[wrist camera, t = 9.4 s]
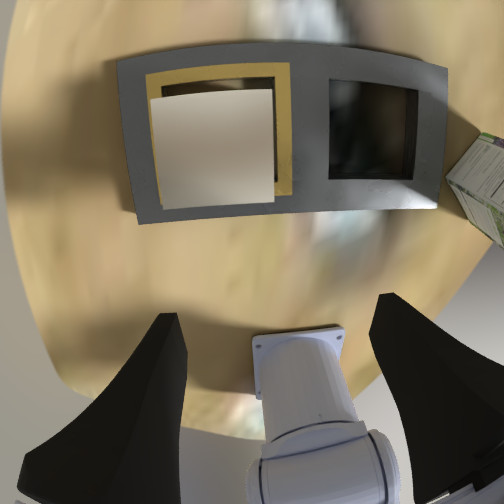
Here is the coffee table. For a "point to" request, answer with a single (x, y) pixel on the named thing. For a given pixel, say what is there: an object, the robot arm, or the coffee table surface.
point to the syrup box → (482, 185)
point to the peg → (214, 148)
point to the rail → (292, 125)
